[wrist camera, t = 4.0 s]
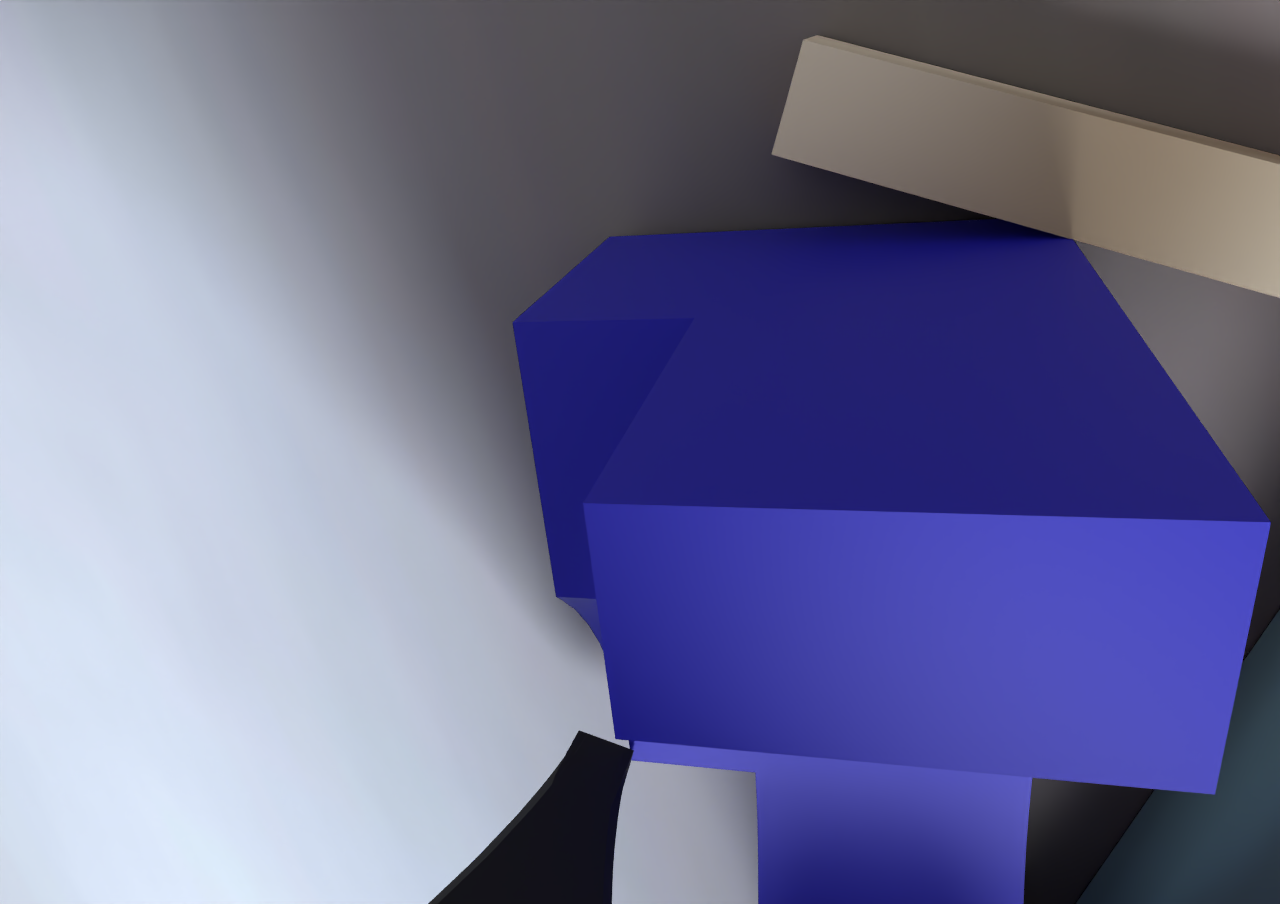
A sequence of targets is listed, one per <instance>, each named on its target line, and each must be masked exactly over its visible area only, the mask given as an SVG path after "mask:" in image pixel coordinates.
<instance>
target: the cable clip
mask: <svg viewBox="0 0 1280 904" xmlns="http://www.w3.org/2000/svg"><path fill="white" fill-rule="evenodd" d="M513 328H514V335H515V341H516V347H517V354H518V360H519V366H520V372H521V379H522V385H523V391H524V398H525V404H526V410H527V416H528V423H529V429H530V435H531V442H532V448H533V454H534V461H535V467H536V473H537V479H538V486H539V492H540V498H541V505H542V511H543V517H544V523H545V530H546V536H547V542H548V549H549V555H550V561H551V568H552V574H553V580H554V586H555V593H556V597H557V598H559V599H561V600H563V601H564V602H565V603H567V604H568V605H569V606H571V607H572V608H574V609H575V610H576V611H577V612H578V613H579V614H580V616H581V617H582V618H583V619H584V620H585V621H586V622H587V624H588V625H589V626H590V628H591V629H592V631H593V633H594V634H595V636H596V638H597V639H598V641H599V643H600V645H601V647H602V649H603V652H604V659H605V666H606V673H607V681H608V688H609V695H610V702H611V710H612V717H613V724H614V731H615V739H621V740H629V745H630V749H631V750H634V752H633V756H632V760H634V761H644V762H654V763H664V764H675V765H685V766H695V767H705V768H715V769H725V770H736V771H746V772H755V774H756V793H757V819H758V904H1024V879H1025V860H1026V844H1027V830H1028V816H1029V806H1030V796H1031V786H1032V778H1041V779H1052V780H1063V781H1073V782H1084V783H1095V784H1106V785H1116V786H1127V787H1138V788H1149V789H1160V790H1170V791H1181V792H1192V793H1203V794H1213V795H1215V792H1216V787H1217V782H1218V778H1219V773H1220V768H1221V763H1222V758H1223V753H1224V748H1225V744H1226V739H1227V734H1228V729H1229V724H1230V719H1231V714H1232V710H1233V705H1234V700H1235V695H1236V690H1237V685H1238V680H1239V676H1240V671H1241V666H1242V661H1243V656H1244V651H1245V646H1246V641H1247V637H1248V632H1249V627H1250V622H1251V617H1252V612H1253V607H1254V603H1255V598H1256V593H1257V588H1258V583H1259V578H1260V573H1261V569H1262V564H1263V559H1264V554H1265V549H1266V544H1267V539H1268V535H1269V530H1270V525H1271V522H1270V520H1269V519H1268V517H1267V516H1266V515H1265V513H1264V512H1263V510H1262V509H1261V507H1260V506H1259V505H1258V503H1257V502H1256V500H1255V499H1254V497H1253V496H1252V495H1251V493H1250V492H1249V490H1248V489H1247V487H1246V486H1245V485H1244V483H1243V482H1242V480H1241V479H1240V477H1239V476H1238V475H1237V473H1236V472H1235V470H1234V469H1233V467H1232V466H1231V465H1230V463H1229V462H1228V460H1227V459H1226V457H1225V456H1224V455H1223V453H1222V452H1221V450H1220V449H1219V447H1218V446H1217V445H1216V443H1215V442H1214V440H1213V439H1212V437H1211V436H1210V434H1209V433H1208V432H1207V430H1206V429H1205V427H1204V426H1203V424H1202V423H1201V422H1200V420H1199V419H1198V417H1197V416H1196V414H1195V413H1194V412H1193V410H1192V409H1191V407H1190V406H1189V404H1188V403H1187V402H1186V400H1185V399H1184V397H1183V396H1182V394H1181V393H1180V392H1179V390H1178V389H1177V387H1176V386H1175V384H1174V383H1173V382H1172V380H1171V379H1170V377H1169V376H1168V374H1167V373H1166V372H1165V370H1164V369H1163V367H1162V366H1161V364H1160V363H1159V362H1158V360H1157V359H1156V357H1155V356H1154V354H1153V353H1152V352H1151V350H1150V349H1149V347H1148V346H1147V344H1146V343H1145V342H1144V340H1143V339H1142V337H1141V336H1140V334H1139V333H1138V332H1137V330H1136V329H1135V327H1134V326H1133V324H1132V323H1131V322H1130V320H1129V319H1128V317H1127V316H1126V314H1125V313H1124V312H1123V310H1122V309H1121V307H1120V306H1119V304H1118V303H1117V302H1116V300H1115V299H1114V297H1113V296H1112V294H1111V293H1110V291H1109V290H1108V289H1107V287H1106V286H1105V284H1104V283H1103V281H1102V280H1101V279H1100V277H1099V276H1098V274H1097V273H1096V271H1095V270H1094V269H1093V267H1092V266H1091V264H1090V263H1089V261H1088V260H1087V259H1086V257H1085V256H1084V254H1083V253H1082V251H1081V250H1080V249H1079V247H1078V246H1077V244H1076V243H1075V241H1074V240H1073V239H1069V238H1065V237H1062V236H1058V235H1055V234H1051V233H1048V232H1044V231H1041V230H1037V229H1034V228H1030V227H1027V226H1023V225H1019V224H1016V223H1012V222H1009V221H1005V220H1002V219H985V220H963V221H941V222H920V223H898V224H876V225H854V226H833V227H811V228H789V229H767V230H745V231H724V232H702V233H680V234H658V235H637V236H615V237H609V238H608V239H606V240H605V241H604V242H603V243H602V244H601V245H600V246H598V247H597V248H596V249H595V250H594V251H593V252H592V253H591V254H589V255H588V256H587V257H586V258H585V259H584V260H583V261H581V262H580V263H579V264H578V265H577V266H576V267H575V268H574V269H572V270H571V271H570V272H569V273H568V274H567V275H566V276H564V277H563V278H562V279H561V280H560V281H559V282H558V283H556V284H555V285H554V286H553V287H552V288H551V289H550V290H549V291H547V292H546V293H545V294H544V295H543V296H542V297H541V298H539V299H538V300H537V301H536V302H535V303H534V304H533V305H532V306H530V307H529V308H528V309H527V310H526V311H525V312H524V313H522V314H521V315H520V316H519V317H518V318H517V319H516V320H515V321H513Z"/></svg>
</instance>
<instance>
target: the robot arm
mask: <svg viewBox="0 0 1280 904" xmlns="http://www.w3.org/2000/svg"><path fill="white" fill-rule="evenodd" d="M633 752H634V750H631V749H628V748H626V747H623V746H620V745H617V744H615V743H612V742H609V741H606V740H604V739H601V738H598V737H596V736H593V735H590V734H587V733H585V732H582V731H578V733H577V735H576V737H575V739H574V740H573V742H572V744H571V746H570V748H569V750H568V751H567V753H566V755H565V757H564V758H563V760H562V761H561V762H560V764H559V765H558V766H557V768H556V769H555V770H554V772H553V773H552V774H551V776H550V777H549V778H548V779H547V781H546V782H545V783H544V784H543V785H542V787H541V788H540V789H539V790H538V791H537V793H536V794H535V795H534V796H533V797H532V798H531V800H530V801H529V802H528V803H527V804H526V805H525V807H524V808H523V809H522V810H521V811H520V812H519V814H518V815H517V816H516V817H515V818H514V819H513V820H512V821H511V822H510V823H509V824H508V825H507V826H506V827H505V828H504V829H503V831H502V832H501V833H500V834H499V835H498V836H497V837H496V838H495V839H494V840H493V841H492V842H491V843H490V844H489V845H488V846H487V848H486V849H485V850H484V851H483V852H482V853H481V854H480V855H479V856H478V857H477V858H476V859H475V860H474V861H473V862H472V863H471V864H470V865H469V866H468V867H467V868H466V869H465V870H464V871H462V872H461V873H460V874H459V875H458V876H457V877H456V878H455V879H454V880H453V881H452V882H451V883H450V884H449V885H448V886H447V887H445V888H444V889H443V890H442V891H441V892H440V893H439V894H438V895H437V896H436V897H435V898H434V899H433V900H432V901H431V902H430V903H428V904H612V880H613V861H614V848H615V838H616V829H617V820H618V813H619V807H620V800H621V795H622V790H623V786H624V783H625V779H626V776H627V772H628V769H629V766H630V762H631V759H632V756H633Z"/></svg>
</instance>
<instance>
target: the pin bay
mask: <svg viewBox="0 0 1280 904" xmlns="http://www.w3.org/2000/svg"><path fill="white" fill-rule="evenodd" d="M771 155H775V156H778V157H782V158H785V159H789V160H793V161H796V162H800V163H803V164H807V165H810V166H814V167H817V168H821V169H824V170H828V171H832V172H835V173H839V174H842V175H846V176H849V177H853V178H856V179H860V180H863V181H867V182H871V183H874V184H878V185H881V186H885V187H888V188H892V189H895V190H899V191H902V192H906V193H910V194H913V195H917V196H920V197H924V198H927V199H931V200H934V201H938V202H941V203H945V204H949V205H952V206H956V207H959V208H963V209H966V210H970V211H973V212H977V213H980V214H984V215H988V216H991V217H995V218H998V219H1002V220H1005V221H1009V222H1012V223H1016V224H1019V225H1023V226H1027V227H1030V228H1034V229H1037V230H1041V231H1044V232H1048V233H1051V234H1055V235H1058V236H1062V237H1065V238H1069V239H1073V240H1076V241H1080V242H1083V243H1087V244H1090V245H1094V246H1097V247H1101V248H1104V249H1108V250H1112V251H1115V252H1119V253H1122V254H1126V255H1129V256H1133V257H1136V258H1140V259H1143V260H1147V261H1151V262H1154V263H1158V264H1161V265H1165V266H1168V267H1172V268H1175V269H1179V270H1182V271H1186V272H1190V273H1193V274H1197V275H1200V276H1204V277H1207V278H1211V279H1214V280H1218V281H1221V282H1225V283H1229V284H1232V285H1236V286H1239V287H1243V288H1246V289H1250V290H1253V291H1257V292H1260V293H1264V294H1268V295H1271V296H1275V297H1278V298H1280V155H1276V154H1272V153H1268V152H1264V151H1261V150H1257V149H1253V148H1249V147H1245V146H1241V145H1238V144H1234V143H1230V142H1226V141H1222V140H1218V139H1215V138H1211V137H1207V136H1203V135H1199V134H1195V133H1191V132H1188V131H1184V130H1180V129H1176V128H1172V127H1168V126H1165V125H1161V124H1157V123H1153V122H1149V121H1145V120H1142V119H1138V118H1134V117H1130V116H1126V115H1122V114H1118V113H1115V112H1111V111H1107V110H1103V109H1099V108H1095V107H1092V106H1088V105H1084V104H1080V103H1076V102H1072V101H1069V100H1065V99H1061V98H1057V97H1053V96H1049V95H1046V94H1042V93H1038V92H1034V91H1030V90H1026V89H1022V88H1019V87H1015V86H1011V85H1007V84H1003V83H999V82H996V81H992V80H988V79H984V78H980V77H976V76H973V75H969V74H965V73H961V72H957V71H953V70H950V69H946V68H942V67H938V66H934V65H930V64H926V63H923V62H919V61H915V60H911V59H907V58H903V57H900V56H896V55H892V54H888V53H884V52H880V51H877V50H873V49H869V48H865V47H861V46H857V45H854V44H850V43H846V42H842V41H838V40H834V39H830V38H827V37H823V36H819V35H816V36H813V37H810V38H807V39H804V40H803V42H802V46H801V49H800V53H799V57H798V60H797V64H796V67H795V71H794V75H793V78H792V82H791V86H790V89H789V93H788V96H787V100H786V104H785V107H784V111H783V114H782V118H781V122H780V125H779V129H778V133H777V136H776V140H775V143H774V147H773V151H772V154H771ZM1076 904H1280V610H1279V611H1278V613H1277V614H1276V615H1275V617H1274V618H1273V620H1272V621H1271V623H1270V624H1269V626H1268V627H1267V628H1266V630H1265V631H1264V633H1263V634H1262V636H1261V637H1260V639H1259V640H1258V641H1257V643H1256V644H1255V646H1254V647H1253V649H1252V650H1251V652H1250V653H1249V654H1248V656H1247V657H1246V659H1245V660H1244V662H1243V663H1242V666H1241V671H1240V676H1239V680H1238V685H1237V690H1236V695H1235V700H1234V705H1233V710H1232V714H1231V719H1230V724H1229V729H1228V734H1227V739H1226V744H1225V748H1224V753H1223V758H1222V763H1221V768H1220V773H1219V778H1218V782H1217V787H1216V792H1215V795H1213V794H1203V793H1192V792H1181V791H1170V790H1160V789H1155V790H1154V792H1153V793H1152V794H1151V796H1150V797H1149V799H1148V800H1147V802H1146V803H1145V805H1144V806H1143V807H1142V809H1141V810H1140V812H1139V813H1138V815H1137V816H1136V818H1135V819H1134V820H1133V822H1132V823H1131V825H1130V826H1129V828H1128V829H1127V831H1126V832H1125V833H1124V835H1123V836H1122V838H1121V839H1120V841H1119V842H1118V844H1117V845H1116V846H1115V848H1114V849H1113V851H1112V852H1111V854H1110V855H1109V857H1108V858H1107V859H1106V861H1105V862H1104V864H1103V865H1102V867H1101V868H1100V870H1099V871H1098V872H1097V874H1096V875H1095V877H1094V878H1093V880H1092V881H1091V883H1090V884H1089V885H1088V887H1087V888H1086V890H1085V891H1084V893H1083V894H1082V896H1081V897H1080V898H1079V900H1078V901H1077V903H1076Z"/></svg>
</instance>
